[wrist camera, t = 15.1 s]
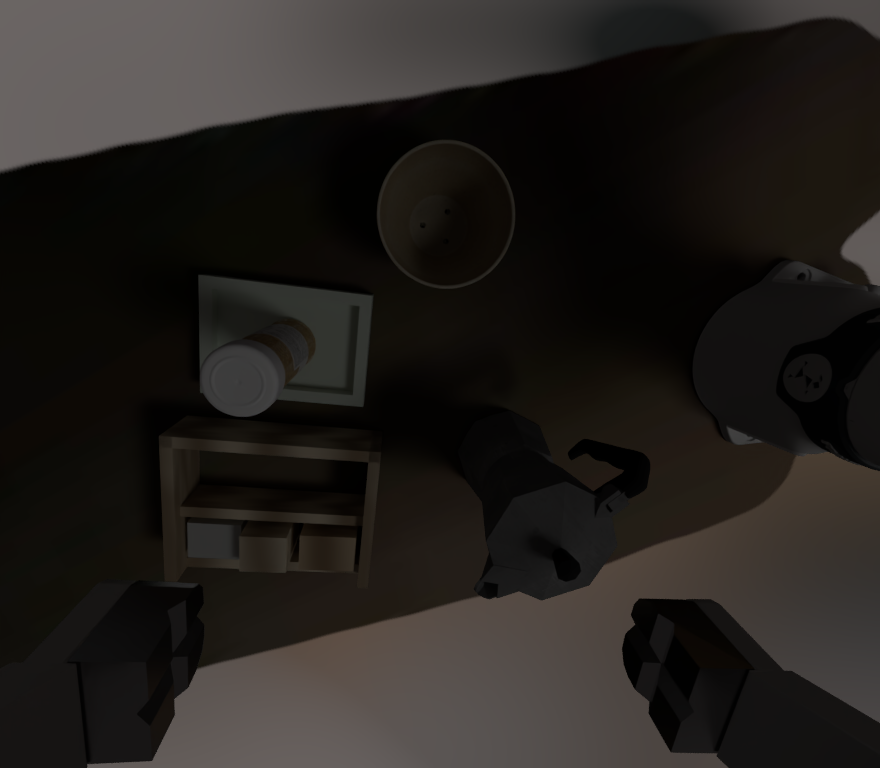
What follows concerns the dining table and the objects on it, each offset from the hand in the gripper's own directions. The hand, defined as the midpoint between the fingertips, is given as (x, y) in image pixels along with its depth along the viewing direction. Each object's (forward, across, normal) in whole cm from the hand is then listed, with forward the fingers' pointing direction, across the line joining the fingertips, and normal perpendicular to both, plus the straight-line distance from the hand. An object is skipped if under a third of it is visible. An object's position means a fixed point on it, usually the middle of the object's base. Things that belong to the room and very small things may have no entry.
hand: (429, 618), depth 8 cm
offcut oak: (+33, +5, +20) cm, 39 cm away
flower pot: (+33, -2, -10) cm, 35 cm away
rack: (+33, +10, +16) cm, 38 cm away
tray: (+33, +10, +1) cm, 35 cm away
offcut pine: (+33, +10, +20) cm, 40 cm away
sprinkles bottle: (+32, +10, +2) cm, 34 cm away
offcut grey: (+33, +15, +20) cm, 42 cm away
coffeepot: (+33, -12, +10) cm, 37 cm away
